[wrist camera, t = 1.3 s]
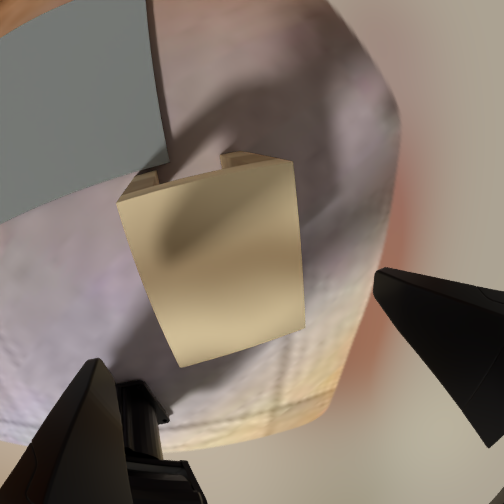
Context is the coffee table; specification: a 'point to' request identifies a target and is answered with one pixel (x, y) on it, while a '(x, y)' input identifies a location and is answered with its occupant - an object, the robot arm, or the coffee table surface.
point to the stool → (219, 254)
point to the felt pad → (76, 102)
